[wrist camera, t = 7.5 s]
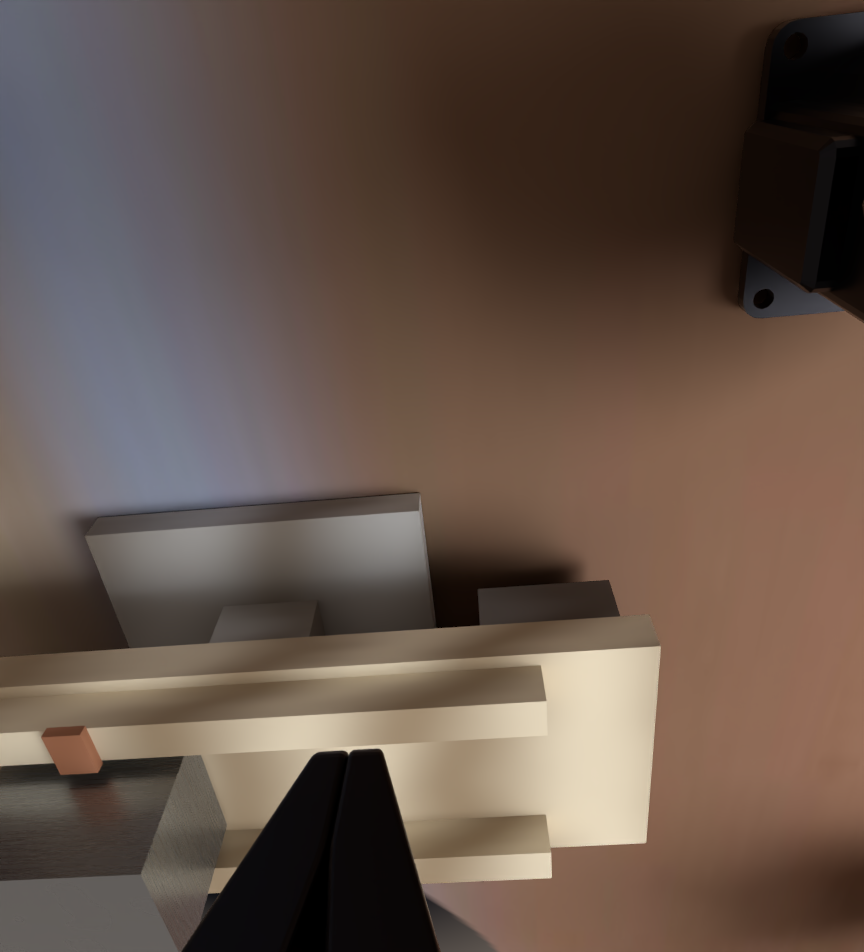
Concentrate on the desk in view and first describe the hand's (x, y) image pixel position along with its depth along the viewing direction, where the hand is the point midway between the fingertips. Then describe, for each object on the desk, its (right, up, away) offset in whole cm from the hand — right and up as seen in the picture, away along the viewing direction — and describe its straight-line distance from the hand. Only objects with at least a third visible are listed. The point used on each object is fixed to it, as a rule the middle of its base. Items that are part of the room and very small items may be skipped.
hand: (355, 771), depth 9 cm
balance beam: (-4, -2, +16) cm, 17 cm away
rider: (-8, -5, +12) cm, 16 cm away
